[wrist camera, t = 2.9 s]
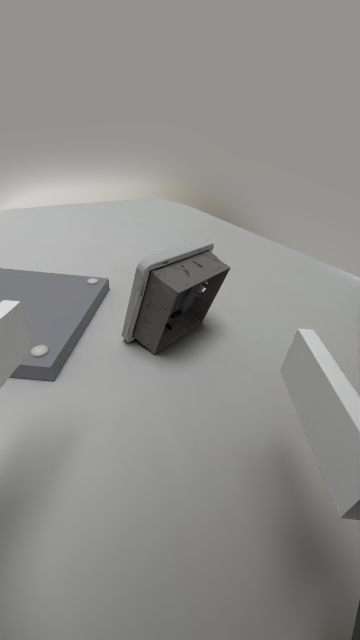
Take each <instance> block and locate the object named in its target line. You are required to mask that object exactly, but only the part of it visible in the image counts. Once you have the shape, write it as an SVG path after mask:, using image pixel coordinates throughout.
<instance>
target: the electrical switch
mask: <svg viewBox="0 0 360 640" xmlns="http://www.w3.org/2000/svg"><path fill="white" fill-rule="evenodd" d="M213 248H214V247H213V243H211V242H209V241H208V240H202V241H199V242H196V243H193V244H189V245H186V246H183V247H180V248H176V249H173V250H170V251H167V252H164V253H160V254H157V255H154V256H151V257H147V258H144V259H143V260H142V261H141V262H140V263H139V265H138V266H137V269H136V273H135V278H134V282H133V287H132V291H131V296H130V300H129V305H128V309H127V313H126V318H125V322H124V327H123V331H122V336H123V337H124V338H125V340H126V341H127V342H128V343H130V342H131V341H133V340H135V339H137V340H138V341H139V342H140V343H141V344H142V345H144V346H145V347H146V348H147V349H148V350H149V351H151V352H152V353H153V354H156V353H157V352H159V351H160V350H162V349H163V348H165V347H166V346H168V345H169V344H171V343H172V342H174V341H175V340H177V339H178V338H179V337H181V336H182V335H184V334H185V333H187V332H188V331H190V330H191V329H193V328H194V327H196V326H197V325H199V324H200V322H202V321H203V319H204V317H205V315H206V314H207V312H208V310H209V308H210V306H211V304H212V302H213V300H214V298H215V296H216V294H217V293H218V291H219V289H220V287H221V285H222V283H223V281H224V279H225V277H226V275H227V273H228V272H229V270H230V267H229V266H227V265H226V264H224V263H223V262H221V261H220V260H219V259H218V258H217V257H216V256H215V255H214V254H212V253H211V252H212V250H213ZM206 282H207V283H208V284H207V283H206ZM204 287H205V288H206V290H205V291H204V292H202V290H203V288H204ZM183 312H184V313H183ZM188 318H189V319H188ZM197 319H198V320H199V321H200V322H199V321H198V320H197ZM172 320H173V321H172ZM167 323H169V324H170V326H171V327H172V330H169V329H168V328H166V327H165V325H166V324H167ZM177 326H178V327H177ZM183 328H185V329H183ZM163 331H165V332H166V333H167V335H166V333H165V332H163ZM166 341H167V342H166Z"/></svg>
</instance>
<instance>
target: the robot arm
mask: <svg viewBox="0 0 360 640" xmlns="http://www.w3.org/2000/svg"><path fill="white" fill-rule="evenodd" d="M32 348H33V344H32V341H31V337H30V334H29V330H28V327H27V323H26V320H25V316H24V313H23V309H22V306H21V302H20V301H9V300H3V301H2V302H1V303H0V388H1V387H2V386H3V384H4V383H5V382H6V381H7V379H8V378H9V377H10V376H11V374H12V373H13V372H14V371H15V369H16V368H17V367H18V366H19V364H20V363H21V362H22V361H23V360H24V358H25V357H26V356H27V355H28V353H29V352H30V351H31V350H32ZM280 371H281V373H282V376H283V378H284V381H285V383H286V386H287V388H288V391H289V393H290V396H291V398H292V401H293V403H294V406H295V408H296V411H297V413H298V416H299V418H300V421H301V423H302V426H303V428H304V430H305V433H306V435H307V438H308V440H309V443H310V445H311V448H312V450H313V453H314V455H315V458H316V460H317V463H318V465H319V468H320V470H321V473H322V475H323V478H324V480H325V483H326V485H327V488H328V490H329V493H330V495H331V497H332V500H333V502H334V505H335V507H336V510H337V512H338V515H339V517H340V518H344V519H356V520H360V397H359V396H358V394H357V393H356V391H355V390H354V388H353V387H352V385H351V384H350V383H349V381H348V380H347V378H346V377H345V375H344V374H343V372H342V371H341V369H340V368H339V366H338V365H337V363H336V362H335V360H334V359H333V358H332V356H331V355H330V353H329V352H328V350H327V349H326V347H325V346H324V344H323V343H322V341H321V340H320V338H319V337H318V336H317V334H316V333H315V331H314V330H308V329H297V332H296V334H295V337H294V339H293V341H292V344H291V346H290V348H289V351H288V353H287V356H286V358H285V360H284V363H283V365H282V367H281V370H280ZM352 640H360V602H359V606H358V611H357V616H356V621H355V626H354V631H353V635H352Z"/></svg>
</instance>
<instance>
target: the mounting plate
mask: <svg viewBox="0 0 360 640" xmlns="http://www.w3.org/2000/svg"><path fill="white" fill-rule="evenodd" d="M108 290H109V280H108V279H107V278H97V277H86V276H76V275H65V274H55V273H44V272H33V271H23V270H12V269H2V268H0V303H1V302H2V301H3V300H9V301H20V302H21V306H22V309H23V313H24V316H25V320H26V323H27V327H28V330H29V334H30V337H31V341H32V344H33V348H32V350H31V351H30V352H29V353H28V355H27V356H26V357H25V358H24V360H23V361H22V362H21V363H20V364H19V366H18V367H17V368H16V369H15V371H14V372H13V373H12V374H11V376H10V377H14V378H25V379H36V380H47V381H54V380H55V379H56V377H57V375H58V374H59V372H60V370H61V369H62V367H63V365H64V364H65V362H66V360H67V359H68V357H69V355H70V354H71V352H72V350H73V349H74V347H75V345H76V344H77V342H78V340H79V339H80V337H81V335H82V334H83V332H84V330H85V329H86V327H87V325H88V324H89V322H90V320H91V319H92V317H93V315H94V314H95V312H96V310H97V309H98V307H99V305H100V304H101V302H102V300H103V299H104V297H105V295H106V294H107V292H108Z"/></svg>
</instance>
